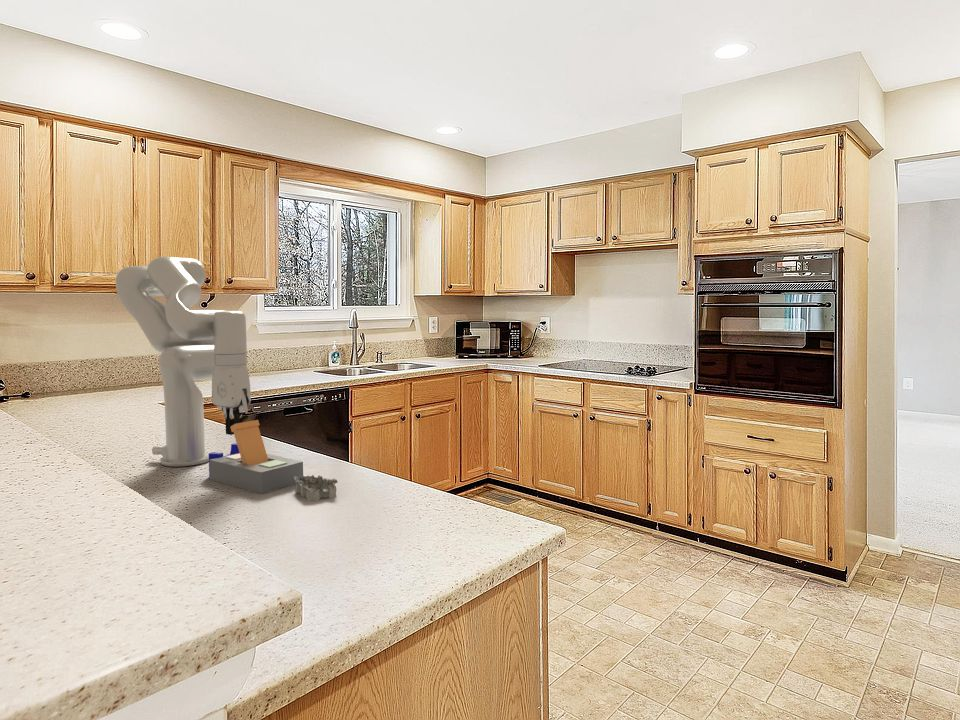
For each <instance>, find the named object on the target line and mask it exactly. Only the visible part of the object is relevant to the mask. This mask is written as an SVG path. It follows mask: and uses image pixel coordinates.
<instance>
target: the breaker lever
mask: <svg viewBox="0 0 960 720" xmlns="http://www.w3.org/2000/svg"><path fill="white" fill-rule="evenodd" d="M260 425H261V424H260V422H259V419H256V420H255V419H254V420H249V421H244V422H242V421H241V423H237V424H234V425H232V426H231V427H230V428H231V431H232V432H234V434H233V435H234V438H235V442H236V443H237V446H238V449H239V452H240V456H241V459H242V463H244V464H248V465H255V464H260V463H264V462H268V461H269V460H268V457H267V454H268V453H267V451H266V447H265V444H264V441H263V440H264V439H263V438H262V435H261V430H260V428H259V426H260Z"/></svg>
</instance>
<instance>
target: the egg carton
mask: <svg viewBox="0 0 960 720" xmlns="http://www.w3.org/2000/svg"><path fill="white" fill-rule="evenodd" d="M294 479H295V482H296V484H295V493H299V494H300V496H301V497H306V500H307V501H320V500H321V499H322V498H329V499H332V498H334V495H335V496H336V495H337V486H336V484H338V483H339V482H338V479H337V478H332V479H331V478H325V477H324V478H323V476H322V475H318V476H316V477H315V475H314V474H312V475H306V476H304V475H303V476H302V477H296V476H294ZM331 497H332V498H331Z"/></svg>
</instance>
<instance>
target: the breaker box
mask: <svg viewBox="0 0 960 720" xmlns="http://www.w3.org/2000/svg"><path fill="white" fill-rule="evenodd" d="M266 454H267V457H268V460H269V461H268V462H264V463H260V464H255V465H248V464H244V463H242V459H241V456H240V453H238V454H233V455H229V456H226V455H223V457H219V458H215V459H210V460H209V461H208V465H209V464H210V477H209V480H210V481H213V482H218V483H221V484H224V485H227V486H231V487H235V488H239V489H243V490H246V491H250V492H253V493H256V494H260V495H263V494H265V493H266V494H267V493H270V492H272V491H276V490H280V489H283V488H287V487H291V486H293V485H296V482H295V479H294V476H296V477H302V476H304V461H302V460H297V459H292V458H287V457H284V456H278V455H273V454H269V453H266Z"/></svg>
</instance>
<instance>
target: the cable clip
mask: <svg viewBox="0 0 960 720" xmlns="http://www.w3.org/2000/svg"><path fill="white" fill-rule="evenodd" d="M230 444H231V445H230V453H228V454H226V455H225V456H229V455H233V454H238V453H240V452H239V449H238V446H237V442H236V443H235V442H234V443H230ZM219 457H224V452H217V451H216V452H210V453H209V460H210V459H215V458H219ZM208 471H209V472H208V475H209V478H210V464H209V463H208Z"/></svg>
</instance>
